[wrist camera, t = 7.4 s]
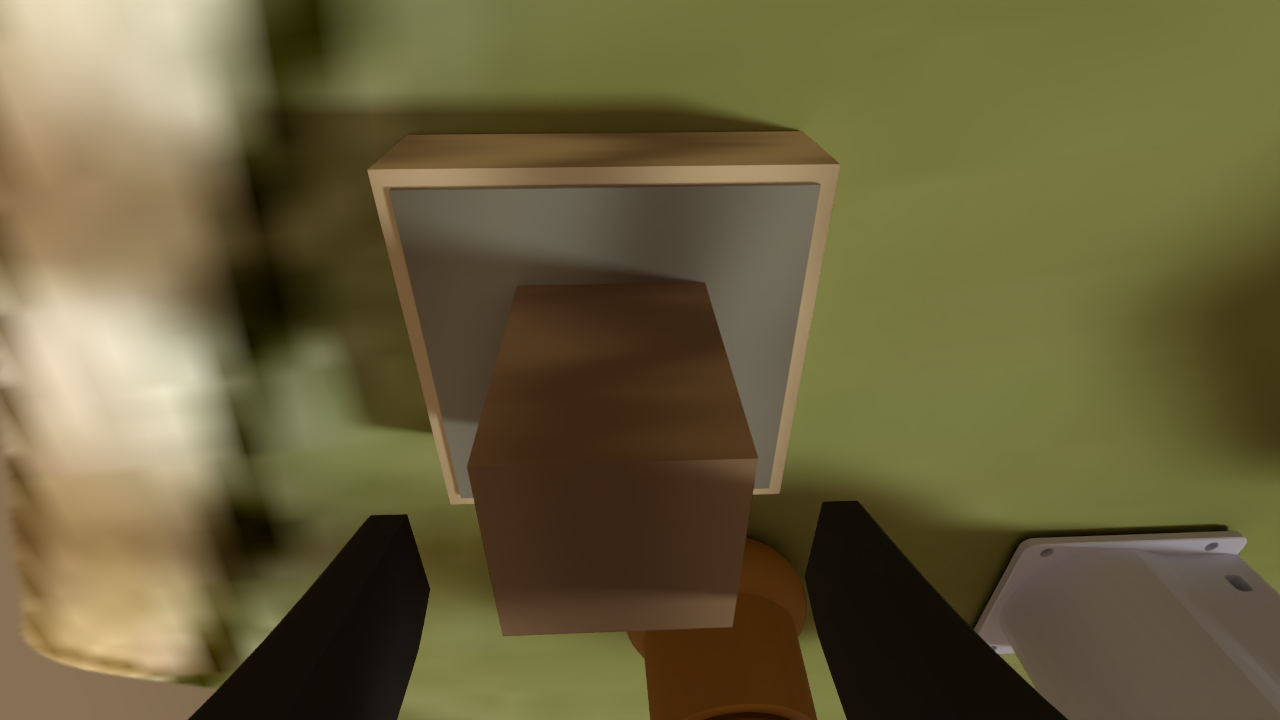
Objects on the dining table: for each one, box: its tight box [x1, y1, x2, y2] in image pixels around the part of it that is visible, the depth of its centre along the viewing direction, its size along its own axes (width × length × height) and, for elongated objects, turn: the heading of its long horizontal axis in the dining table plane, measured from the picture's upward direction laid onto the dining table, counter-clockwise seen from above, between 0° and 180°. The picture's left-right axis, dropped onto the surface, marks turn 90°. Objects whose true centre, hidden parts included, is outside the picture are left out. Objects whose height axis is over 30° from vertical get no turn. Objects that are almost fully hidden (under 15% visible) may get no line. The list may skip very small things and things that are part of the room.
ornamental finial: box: [627, 537, 817, 720], centre depth 22 cm, size 8×8×8 cm
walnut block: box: [467, 283, 758, 636], centre depth 13 cm, size 4×4×6 cm
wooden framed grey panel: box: [367, 131, 840, 504], centre depth 17 cm, size 10×10×3 cm
